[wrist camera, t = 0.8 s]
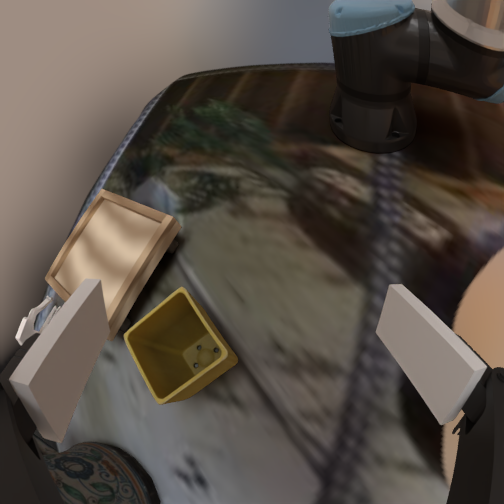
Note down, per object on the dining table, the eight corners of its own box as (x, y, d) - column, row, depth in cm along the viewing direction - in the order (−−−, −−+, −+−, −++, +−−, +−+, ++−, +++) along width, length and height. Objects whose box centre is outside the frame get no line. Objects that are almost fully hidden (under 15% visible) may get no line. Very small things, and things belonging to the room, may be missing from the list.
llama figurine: (75, 329, 49) (35, 405, 36) (42, 289, 42) (-10, 371, 29) (81, 331, 48) (40, 409, 35) (47, 290, 41) (-5, 374, 28)
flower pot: (163, 349, 36) (120, 334, 28) (214, 309, 37) (181, 284, 29) (198, 406, 32) (158, 406, 24) (255, 364, 33) (230, 355, 25)
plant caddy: (120, 207, 50) (101, 188, 45) (192, 239, 43) (173, 216, 38) (68, 291, 45) (44, 278, 40) (127, 346, 38) (100, 337, 32)
